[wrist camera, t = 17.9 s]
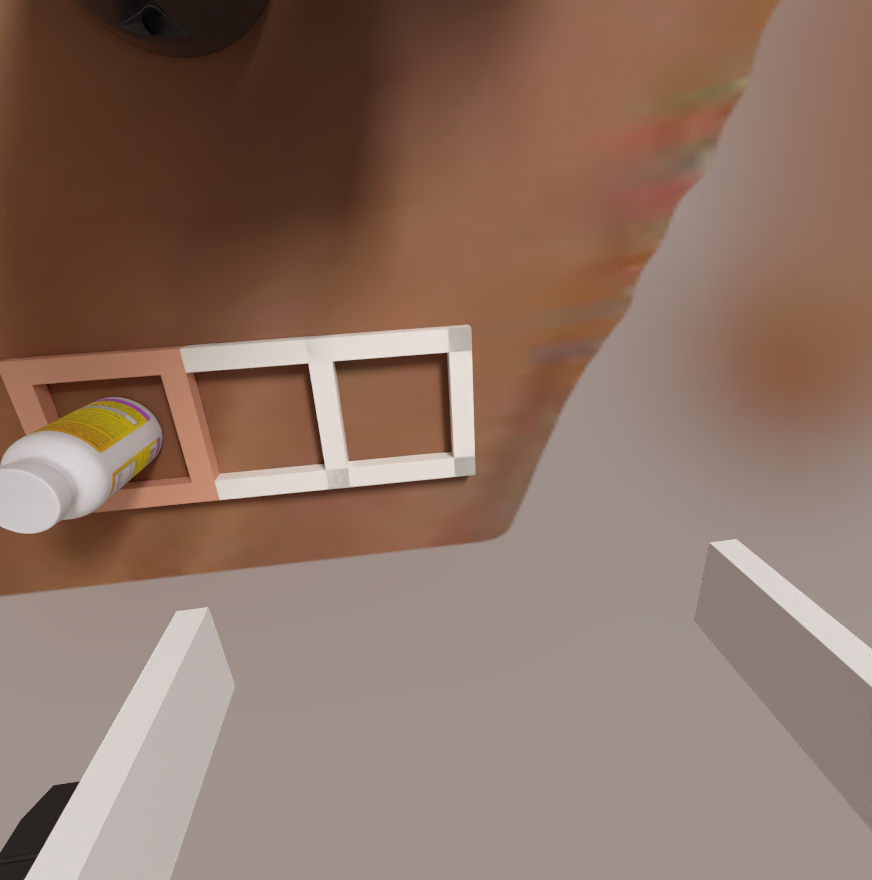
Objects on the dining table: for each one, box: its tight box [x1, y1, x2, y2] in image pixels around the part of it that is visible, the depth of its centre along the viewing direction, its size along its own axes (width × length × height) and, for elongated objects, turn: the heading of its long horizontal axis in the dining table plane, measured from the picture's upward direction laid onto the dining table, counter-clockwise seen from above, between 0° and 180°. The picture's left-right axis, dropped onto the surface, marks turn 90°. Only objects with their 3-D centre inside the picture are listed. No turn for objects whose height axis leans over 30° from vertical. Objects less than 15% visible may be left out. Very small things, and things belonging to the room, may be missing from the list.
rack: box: [0, 325, 475, 513], centre depth 41 cm, size 38×14×2 cm, turn 93°
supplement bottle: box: [0, 397, 163, 534], centre depth 35 cm, size 7×7×13 cm
